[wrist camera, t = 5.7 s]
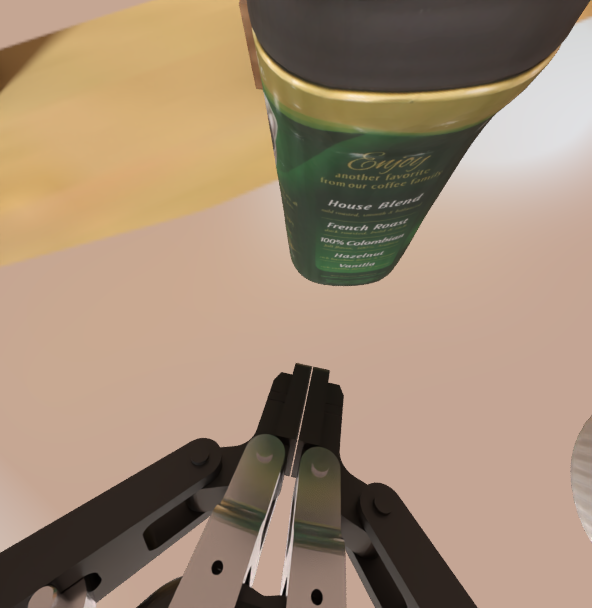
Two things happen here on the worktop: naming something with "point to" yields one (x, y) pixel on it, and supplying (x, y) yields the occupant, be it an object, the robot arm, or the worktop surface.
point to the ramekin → (583, 476)
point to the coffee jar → (385, 111)
